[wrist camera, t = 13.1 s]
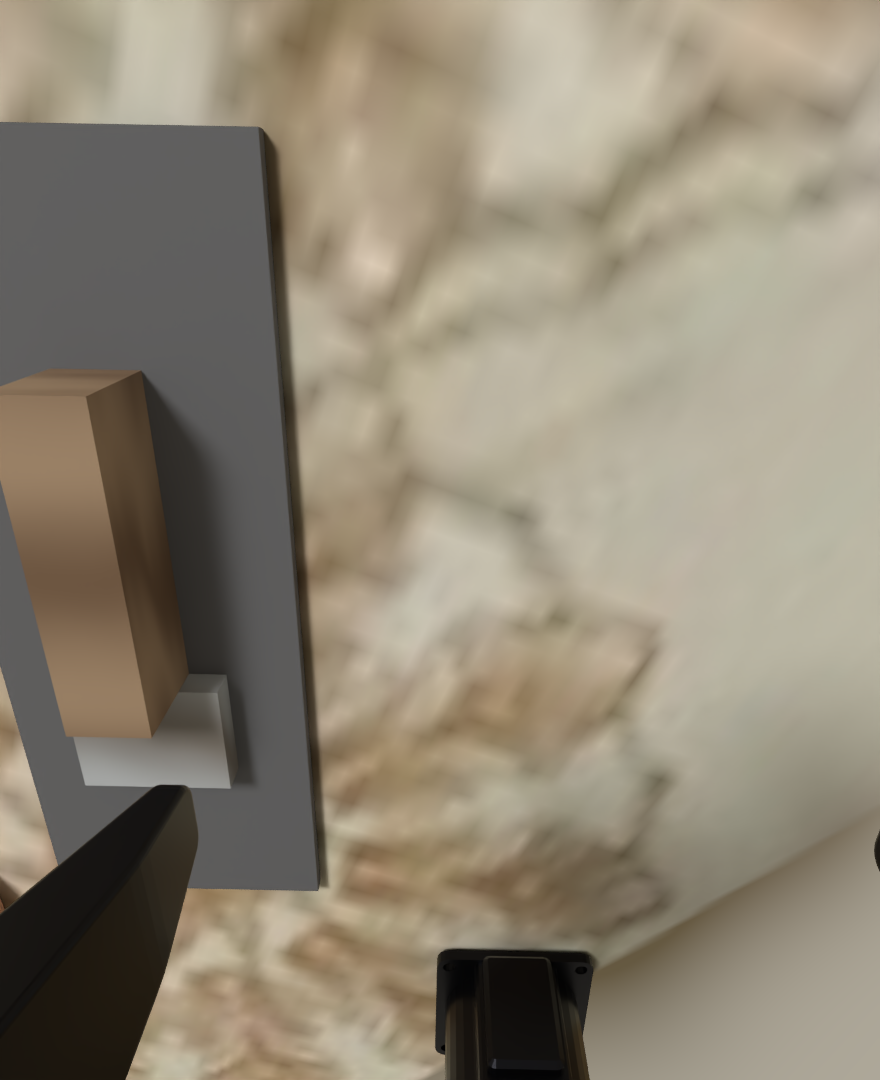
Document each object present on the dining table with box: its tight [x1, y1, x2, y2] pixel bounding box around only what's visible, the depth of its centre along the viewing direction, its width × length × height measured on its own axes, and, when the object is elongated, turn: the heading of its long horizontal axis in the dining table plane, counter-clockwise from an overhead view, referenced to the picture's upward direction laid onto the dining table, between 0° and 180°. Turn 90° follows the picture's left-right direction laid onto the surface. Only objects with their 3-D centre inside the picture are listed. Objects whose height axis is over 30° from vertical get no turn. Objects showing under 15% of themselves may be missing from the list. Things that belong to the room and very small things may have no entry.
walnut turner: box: [0, 369, 239, 789], centre depth 21 cm, size 14×5×3 cm, turn 179°
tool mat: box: [0, 122, 320, 891], centre depth 22 cm, size 26×10×1 cm, turn 179°
